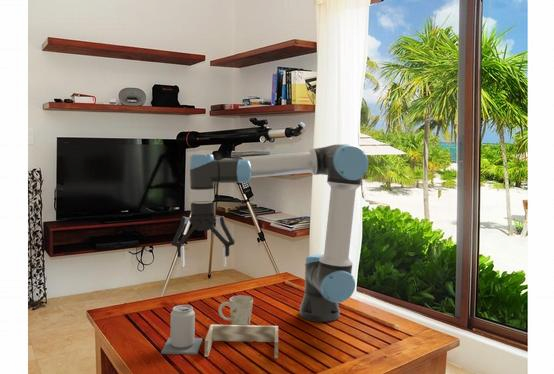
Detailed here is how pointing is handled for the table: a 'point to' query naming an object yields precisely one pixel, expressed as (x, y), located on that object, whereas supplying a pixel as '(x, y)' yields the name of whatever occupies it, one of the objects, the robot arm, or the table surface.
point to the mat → (190, 350)
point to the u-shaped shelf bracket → (241, 335)
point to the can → (182, 326)
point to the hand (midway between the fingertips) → (203, 266)
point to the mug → (238, 309)
